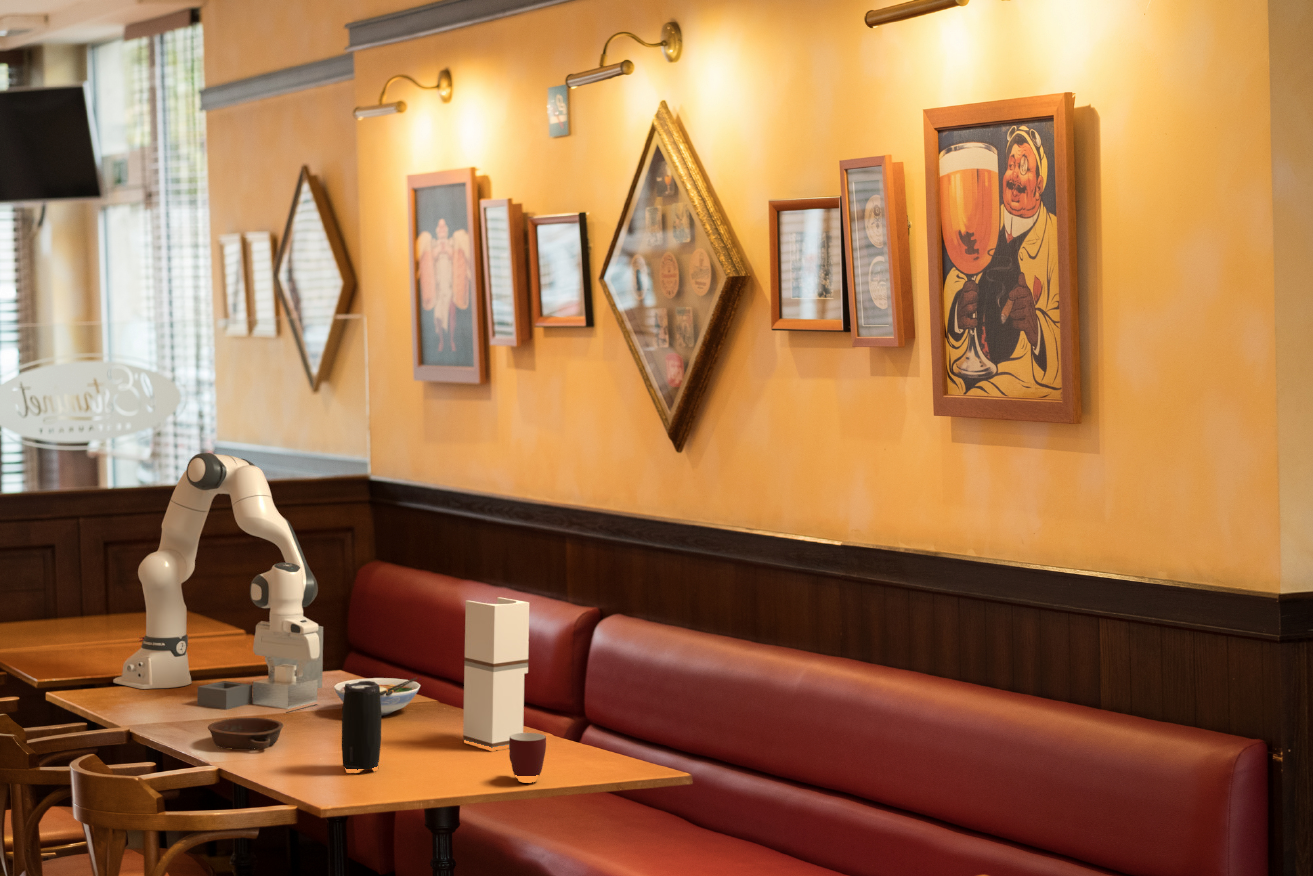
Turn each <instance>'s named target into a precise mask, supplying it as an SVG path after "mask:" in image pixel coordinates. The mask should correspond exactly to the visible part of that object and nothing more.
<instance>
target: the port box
mask: <svg viewBox="0 0 1313 876" xmlns="http://www.w3.org/2000/svg"><path fill="white" fill-rule="evenodd" d="M274 678H275V677H272V678H268V677H267V678H264V679H259V680H256V681H255V680H254V681H253V682H252V685H253V692H252V705H255V706H260V707H261V706H262V707H268V708H270V707H271V708H276V709H283V710H288V711H286V712H285V713H286V714H287V713H288V714H289V713H291V712H293V713H294V712H297V711H301V710H304V709H308V708H311V707H316V706H318V703H317V702H318V688H317V679H311V678H303V677H296V681H295V682H291V683H287V684H286V683H279V682H274ZM312 703H315V704H312ZM309 704H311V705H309ZM305 705H308V706H305ZM302 706H303V707H302ZM304 706H305V707H304ZM297 707H301V708H297ZM293 708H296V709H293ZM290 709H293V710H290Z"/></svg>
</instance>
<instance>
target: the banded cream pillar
mask: <svg viewBox="0 0 1313 876" xmlns="http://www.w3.org/2000/svg"><path fill="white" fill-rule="evenodd" d="M496 599H497V601H496V603H486V602H485V603H484V602H481V601H480V602H479V601H473V600H465V617H464V618H465V620H464V621H465V622H464V623H465V625H464V630H465V631H464V667H463V668H464V672H463V673H464V675H463V676H464V679H463V685H464V686H463V726H462V727H463V728H462V729H463V730H462V731H463V732H462V733H463V734H462V735H463V737H462V738H463V739H462V741H463V740H466V741H469V742H474V743H477V744H481V745H484V746H489V747H491V748H493V747H498V746H505V745H509V739H510V736H511V735H513V734H517V733H524V711H525V710H524V708H525V706H524V705H525V674H528V673H529V648H530V647H529V646H530V645H529V644H530V643H529V639H530V601H529V602H528V601H522V600H517V599H511V598H505V597H496Z"/></svg>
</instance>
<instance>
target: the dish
mask: <svg viewBox="0 0 1313 876" xmlns="http://www.w3.org/2000/svg"><path fill="white" fill-rule="evenodd" d="M283 727H284V723H283V722H281V721H279V720H276V719H272V718H266V717H265V718H264V717H236V718H227V719H226V718H225V719H223V720H218V721H215V722H212V723H210V724H209V725H208V726H207V729H208V731H209V732H210V735H211V738H212V740H213V743H214V744H215V746H217V747H218V746H219V748H221V747H222V748H221V749H225V748H232V749H231V750H234V749H250V750H265V749H268V748H269V747H270V746H273V745H274V744H276V743H277V741H278V739H279V737H280V734H281V730H282V729H283ZM254 748H255V749H254Z"/></svg>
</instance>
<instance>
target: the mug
mask: <svg viewBox="0 0 1313 876" xmlns="http://www.w3.org/2000/svg"><path fill="white" fill-rule="evenodd" d="M508 750H509V755H508V757H509V761H510V763H511V769H512V772H513V775H514V776H515V775H517V776H536V775H539V776H540V775H541V773H542V770H543V766H544V760H545V757H546V750H547V736H546V735H545V734H541V733H537V732H523V733H517V734H513V735H511V736H510V739H509V749H508Z"/></svg>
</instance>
